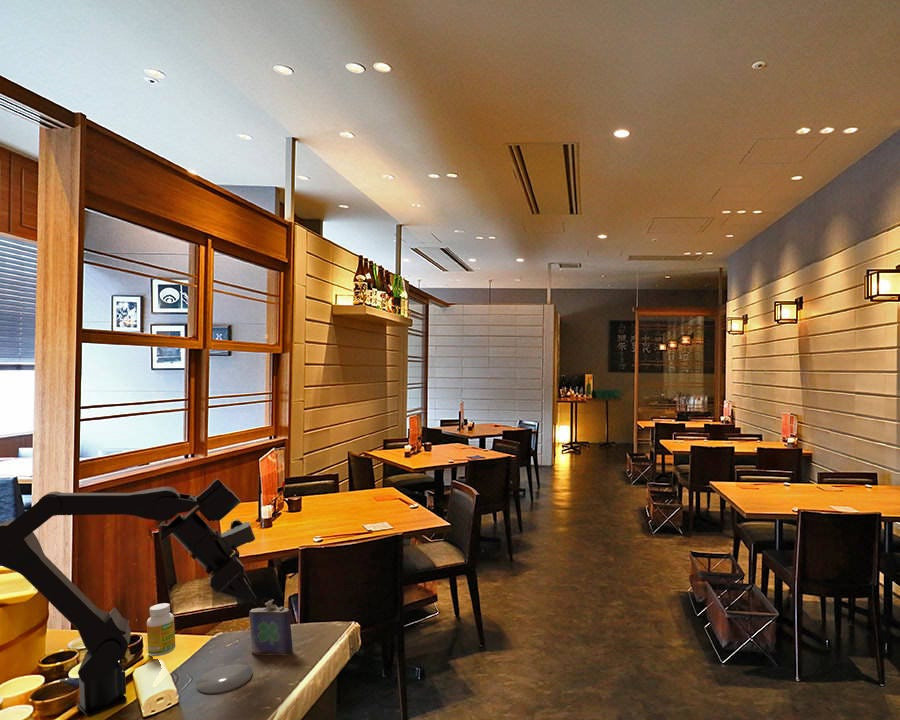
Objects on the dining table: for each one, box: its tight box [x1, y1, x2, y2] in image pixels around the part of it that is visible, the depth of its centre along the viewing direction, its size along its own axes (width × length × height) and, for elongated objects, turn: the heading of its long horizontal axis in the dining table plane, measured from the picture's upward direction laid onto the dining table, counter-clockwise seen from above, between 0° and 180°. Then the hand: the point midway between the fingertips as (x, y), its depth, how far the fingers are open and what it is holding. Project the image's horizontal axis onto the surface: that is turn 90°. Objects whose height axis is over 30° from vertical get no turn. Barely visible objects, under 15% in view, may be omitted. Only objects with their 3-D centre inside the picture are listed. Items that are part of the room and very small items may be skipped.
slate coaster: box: [196, 663, 253, 695], centre depth 113 cm, size 10×10×1 cm
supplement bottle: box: [146, 602, 176, 657], centre depth 129 cm, size 5×5×10 cm
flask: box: [248, 599, 294, 656], centre depth 124 cm, size 9×3×11 cm, turn 78°
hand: (252, 593), depth 119 cm, fingers open, 9 cm apart
